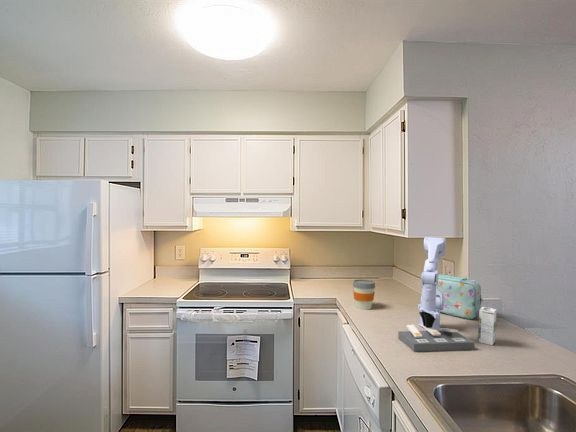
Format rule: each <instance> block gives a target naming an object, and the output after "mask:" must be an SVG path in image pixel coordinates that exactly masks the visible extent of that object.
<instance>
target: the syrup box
mask: <svg viewBox="0 0 576 432" xmlns="http://www.w3.org/2000/svg"><path fill="white" fill-rule="evenodd" d="M497 310H498V309H495V308H492V307H487V306H482V307H481V308H480V310H479V314H478V329H477V330H478V332H477V333H478V335H477V342H478V343H480V344H485V345H490V346H494V344H495V342H496V329H497V328H496V327H497Z"/></svg>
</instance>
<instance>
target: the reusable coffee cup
mask: <svg viewBox="0 0 576 432" xmlns="http://www.w3.org/2000/svg"><path fill="white" fill-rule="evenodd" d="M352 286H353V290H352V293H353V299H354V303H355V308H356V309H357V310H363V311H369V310H371V309H372V307H373V301H374V300H375V299H374V297H375V288H376V283H375V281H374V280H370V279H354V280H353V283H352Z"/></svg>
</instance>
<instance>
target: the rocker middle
mask: <svg viewBox="0 0 576 432" xmlns="http://www.w3.org/2000/svg"><path fill="white" fill-rule="evenodd" d="M423 329H424V330H425V331H428V332H429V333H431V334H432V335H433V336H438V335H441V333H439V332H438V331H437V330H435V329H434V328H433V327H432V328H426V326H424V328H423Z"/></svg>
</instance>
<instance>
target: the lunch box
mask: <svg viewBox="0 0 576 432" xmlns="http://www.w3.org/2000/svg"><path fill="white" fill-rule="evenodd" d="M467 278H468V277H466V276H465V277H458V276H452V275H446V274H439V277H438V290H439V291H440V292H441V293H442V294H443V296H444V306H443V310H442V311H441V310H440V313H443V314H446V315H449V316H451V317H458V318H462V319H468V320H473V319H475V318H476V317H477V316H478V315H479V314H478V313H479V310H480V309H481V308H482V307H481V305H482V303H484V299H483V297H482V288H481V284H480V282H478V281H477V280H476V279H473V280H468V279H469V278H468V279H467ZM436 297H438V296H436ZM477 314H478V315H477ZM476 315H477V316H476Z"/></svg>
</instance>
